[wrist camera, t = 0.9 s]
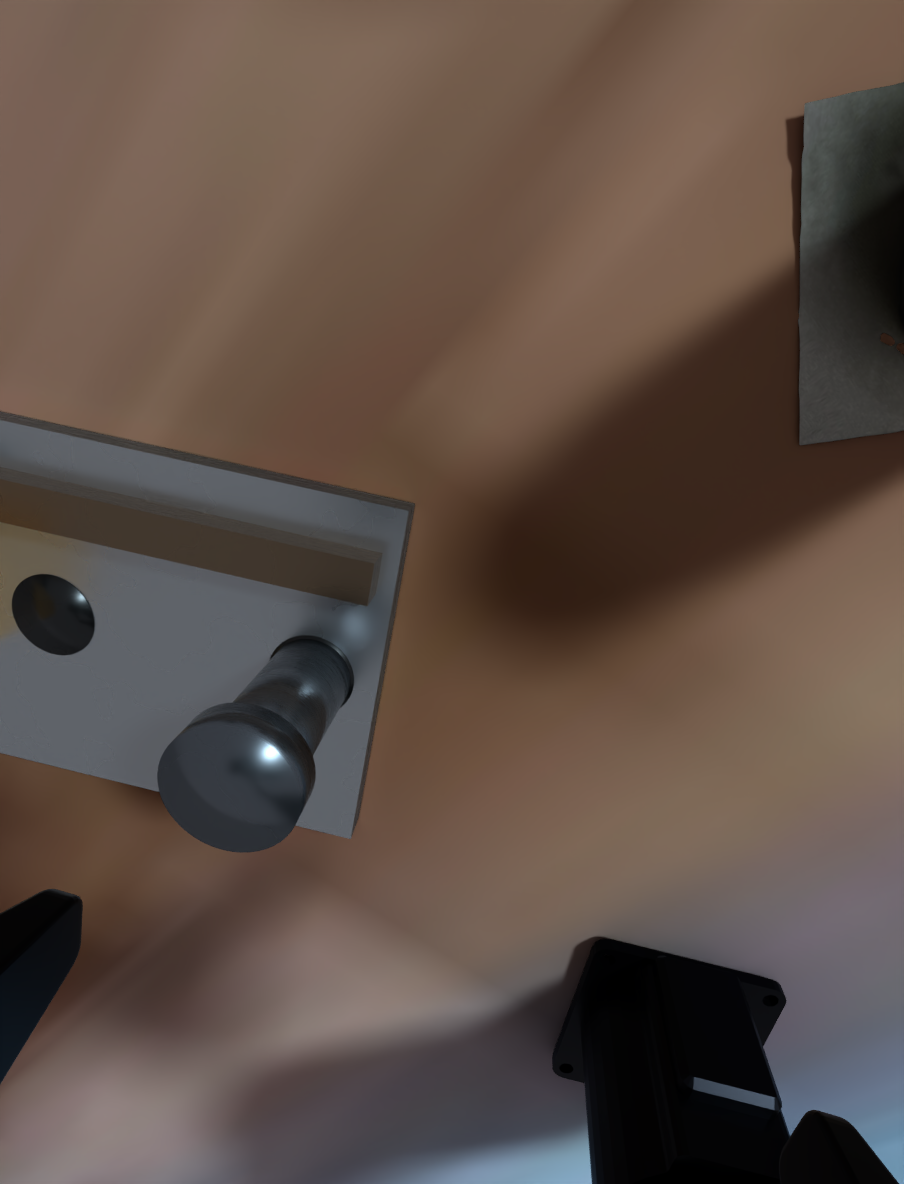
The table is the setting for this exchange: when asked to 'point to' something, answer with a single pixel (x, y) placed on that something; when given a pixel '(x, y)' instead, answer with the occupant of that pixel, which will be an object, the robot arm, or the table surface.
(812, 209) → the condiment
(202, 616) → the plate
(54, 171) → the table surface
